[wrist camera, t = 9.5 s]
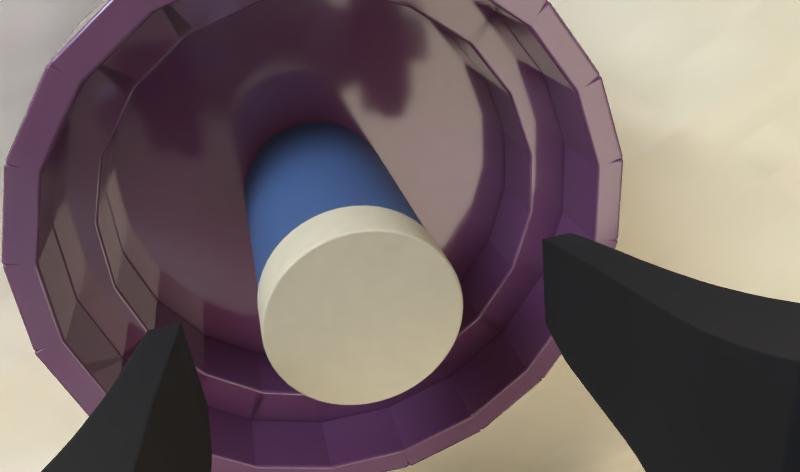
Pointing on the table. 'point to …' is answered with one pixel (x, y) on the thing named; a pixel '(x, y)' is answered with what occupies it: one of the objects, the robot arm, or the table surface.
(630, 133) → the table surface
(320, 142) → the glue stick
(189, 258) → the bowl
